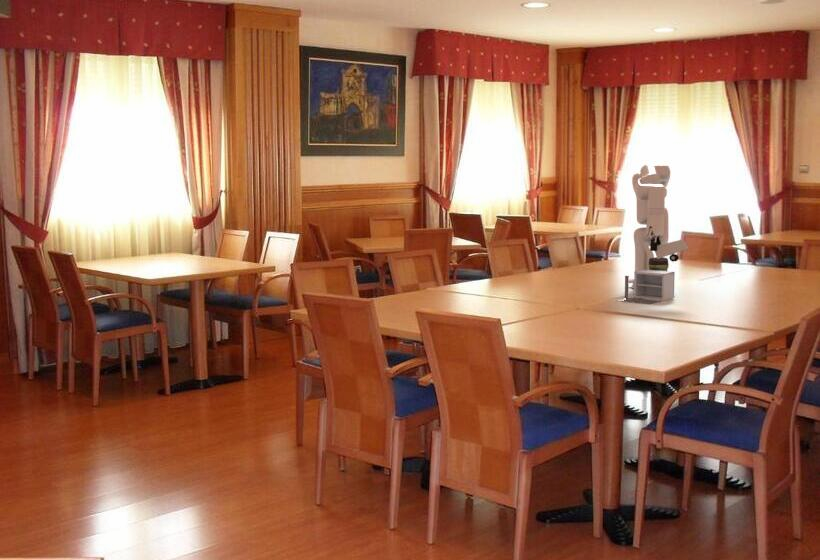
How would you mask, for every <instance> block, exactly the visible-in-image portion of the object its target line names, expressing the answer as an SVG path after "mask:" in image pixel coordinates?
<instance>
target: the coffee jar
mask: <svg viewBox="0 0 820 560" xmlns="http://www.w3.org/2000/svg"><path fill="white" fill-rule="evenodd" d="M669 264H670V263H669V259H668V258H667V257H662V258H659V259H657V256H656V257H654V258H650V259H649V265H648V266H649V269H650V270H657V271H668V269H669V266H670V265H669Z"/></svg>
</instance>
